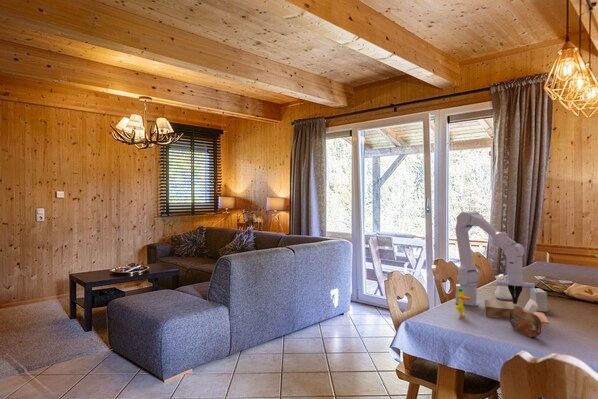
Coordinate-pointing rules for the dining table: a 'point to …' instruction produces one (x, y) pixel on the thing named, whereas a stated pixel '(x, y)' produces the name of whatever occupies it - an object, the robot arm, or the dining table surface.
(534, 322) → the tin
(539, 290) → the medicine box
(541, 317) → the mat
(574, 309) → the dining table surface
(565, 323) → the dining table surface
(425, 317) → the dining table surface
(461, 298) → the toy figure
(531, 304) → the thick cream tile
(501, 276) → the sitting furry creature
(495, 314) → the wooden block
